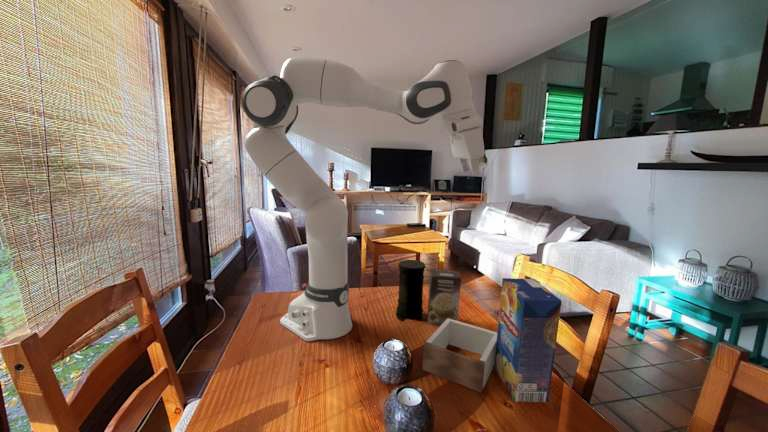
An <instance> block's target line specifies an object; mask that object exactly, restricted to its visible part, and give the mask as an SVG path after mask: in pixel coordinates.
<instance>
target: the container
mask: <svg viewBox="0 0 768 432" xmlns="http://www.w3.org/2000/svg"><path fill="white" fill-rule="evenodd" d="M398 267H399V268H398V270H399V274H398V278H399V281H398V282H399V283H398V299H397V307H396V313H395V316H396V318H397V320H398V321H401V322H404V321H406V320H416V321H419V322H420V321H423V318H424V308H423V304H424V301H423V294H424V290H423V289H424V279H425V275H424V273H425V268H426V264H425V262H424V261H420V260H418V259H417V260H416V259H404V260H400V261H399V262H398Z"/></svg>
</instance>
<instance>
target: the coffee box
mask: <svg viewBox="0 0 768 432" xmlns="http://www.w3.org/2000/svg"><path fill="white" fill-rule="evenodd" d="M461 283H462V277H461V274H460V272H459V271H457V270H448V269H447V270H446V269H432V268H430V276H429V287H428V298H427V299H428V300H427V301H428V303H427V311H426V312H427V314H426V316H427V317H426V320H427V324H428V325H432V326H439V327H440V326H441V325H442V324H443V323H444V322H445V320H446V319H447V318H449V319H452V320H456V321H459V320H458V317H459V306H460V298H461V297H460V296H461V295H460V294H461V285H462V284H461Z"/></svg>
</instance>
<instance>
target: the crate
mask: <svg viewBox="0 0 768 432" xmlns="http://www.w3.org/2000/svg"><path fill="white" fill-rule="evenodd" d="M425 342H427V343H430V344H433V345H436V346H438V347H441V348H444V349H447V347H448V345H449V346H454V347H457V348H459V349H461V350H462V349H463V350H466V351H468V352H471V353H474V354H478V355H480V356H481V357H480V359H479V361H482V362H485V367H484V378H483V389H485V385H486V383H487V382H488V379H489V377H490V375H491V373H492V371H493V369H494V368H495V367H494V362H495V352H496V342H497V331H493V330H489V329H486V328H483V327H480V326H476V325H473V324H469V323H466V322H462V321H459V320H457V321H456V320H452V319H449V318H447V319H446V320H445V322H444V323H443V324H442V325H441V326H440V325H439V327H438V328H437V329H436V330H435V331H434V332H433V333H432V334H431V335H430V337H428V339H427V340H426V341H425Z"/></svg>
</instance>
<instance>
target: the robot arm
mask: <svg viewBox="0 0 768 432" xmlns="http://www.w3.org/2000/svg"><path fill="white" fill-rule="evenodd" d="M470 80H471V79H470V77H469V74H468V71H467V68H466V65H465V64H464V63H463V62H462V61H460V60H456V59H455V60H453V59H452V60H451V59H450V60H449V59H448V60H444V61H441V62H439V63H436V64H435V65H434V67H433V68H432V69H431V70H430V72H428V74H426V75H425V76H424V77H423V78H422V79H420V80H419V81H417V82H416V83H414V84H413V85H412V86H410V87H409V89H408V90H397V89H392V88H389V87H383V86H379V85H376V84H374V83H371V82H369V81H367V80H366V79H365V78H364V77H363V76H362V75H360V74H359V73H358V71H356V69H355V68H353V67H351V66H349V65H346V64H344V63H341V62H339V61H335V60H331V59H325V58H319V57H310V56H294V57H293V56H292V57H289V58H288V59H286V60H285V61H284V63H283V64H282V67H281V69H280V75H279V76H278V75H276V74H275V75H271V76H268V77H265V78H263V79H259V80H256V81H253V82H251V83H250V84H249V85H247V86H246V88H245V89H244V90H243V92H242V95H241V105H242V109H243V112H244V113H245V115H246V117H248V118H249V120H251V122H253V123H254V126H253V128H252V129H251V130H250V131H249V132H248V133H247V135H246V136H245V139H244V143H243V144H244V148H245V150H246V152H247V154H248V156H249V157H250V159H251V160H252V162H253V163H254V164H255V166H256V168H258V170H259V172H261V173H262V174H263V176H264V177H265V178H266V179H267V180H268V182H269V183H270V184H271V185H272V186H273V187H274V188H275V190H276V191H277V192H278V193H279V194H280V195H281V196H282V197H283V199H284V200H286V201H288V202H289V203H291V204H292V205H293V206H295V208H297V209H298V210H299V211H300V212H301V213H302V214H303V215H304V216H305V218H304V220H305V234H306V235H305V238H306V246H307V255H308V281H307V282H304V283H302V284H301V288H303V289H304V288H305V290H304V292H303V293H301V294H300V295H298V296H297V297H296V298H294V299H292V300H291V301H290V303H289V305H288V309H287V313H285V314H284V315H283V316H282V317H281V318H280V320H279V323H280V325H281V326H283V327H284V328H286V329H288V330H289V331H291V333H294V334H295V335H296V336H298V337H300V338H301V339H302V340H304V341H306V342H312V341H317V340H333V339H334V340H335V339H338V338H341V337H343V336H346V335H348V333H349V332H350V331H352V329H353V322H352V318H351V314H350V307H349V295H350V292H349V291H350V286H349V280H348V219H349V211H348V207H347V205H346V203H345V202H344V201H343V199H342V198H340V196H339V195H338V194H337V193H336V191H334V189H332V187H330V186H329V185H328V184H327V182H325V180H324V179H322V178H321V177H320V175H318V173H317V172H316V171H315V170H314V169H313V168H312V166H311V165H310V164H309V163H308V162H307V161H306V160H305V158H304V156H302V155H301V154H300V152H299V151H298V150H297V149H296V148H295V146H294V145H293V144H292V143H291V141H290V140H289V139H288V137H287V135H286V134H288V133H289V131H290V129H291V128H292V126H293V124H294V123H295V122H296V120H297V117H298V114H299V106H298V105H300V104H304V103H312V104H317V105H322V106H327V107H337V108H338V107H339V108H368V109H374V110H379V111H383V112H387V113H392V114H396V115H397V116H400V118H401V117H402V119H404V120H405V121H407V122H409V123H410V124H413V125H423V124H425V123H426V122H429V120H431V119H432V118H433V117H435V116H436V115H438V114H439V115H441V117H442V122H443V127H444V128H443V129H444V131H445V135H449V142H450V146H451V147H450V148H451V153H452V155H453V158H455V159H456V158H457V159H458V162H459V165H460V167H461V171H462V172H463V173H465V174H466V173H469V172H470V173H471V176H478V175H480V168H479V167H480V158H483V157H484V156H485V143H484V137H483V131H482V128H481V127H482V126H483V119H482V117H481V116H479V114H477V111H476V106H475V104H474V102H473V98H472V97H473V96H472V95H473V89H472V84H471V81H470ZM468 161H469V164H470V166H469V164H468Z"/></svg>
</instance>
